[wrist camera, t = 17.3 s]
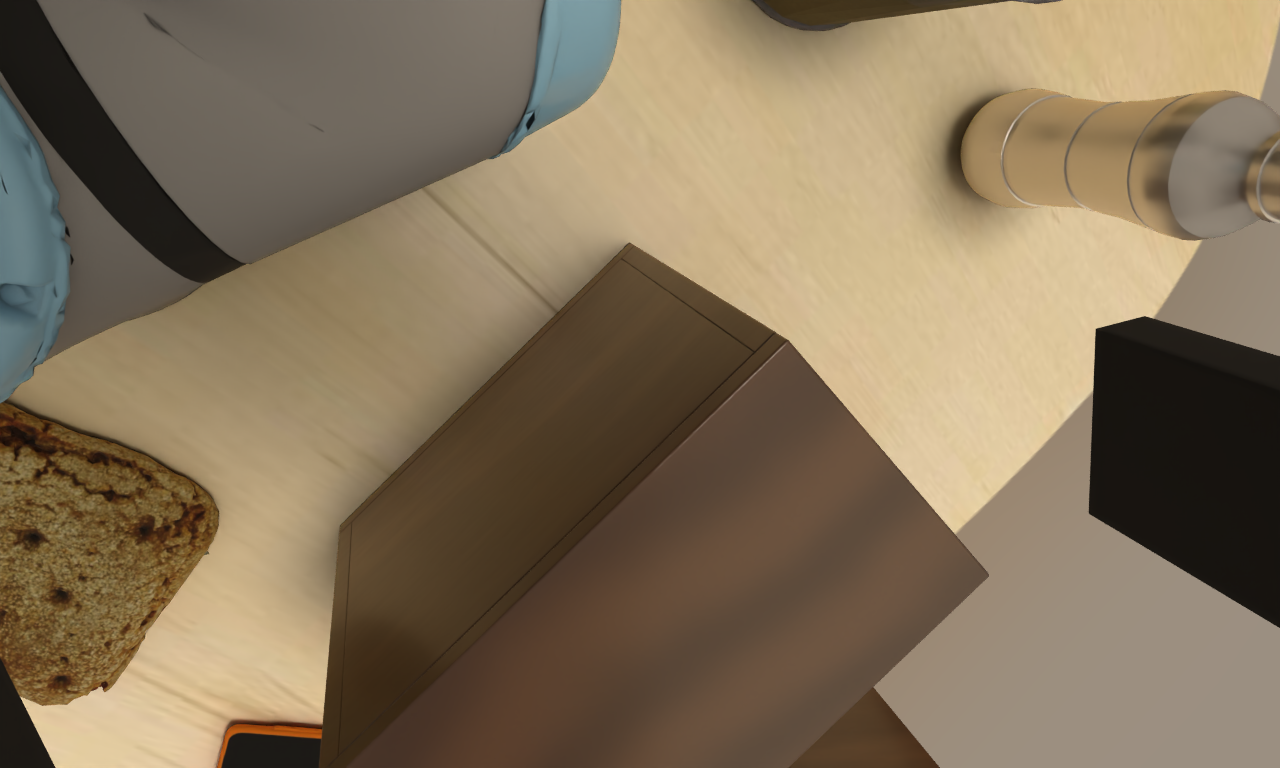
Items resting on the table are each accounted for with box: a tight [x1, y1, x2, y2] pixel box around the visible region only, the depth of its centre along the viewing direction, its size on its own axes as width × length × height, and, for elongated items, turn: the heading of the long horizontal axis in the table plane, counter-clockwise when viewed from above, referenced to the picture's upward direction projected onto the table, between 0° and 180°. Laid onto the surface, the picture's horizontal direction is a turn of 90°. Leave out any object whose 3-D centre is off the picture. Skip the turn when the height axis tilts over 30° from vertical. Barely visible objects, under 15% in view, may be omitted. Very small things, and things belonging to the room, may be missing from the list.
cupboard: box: [319, 243, 989, 768], centre depth 41 cm, size 14×22×20 cm, turn 132°
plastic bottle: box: [961, 88, 1280, 240], centre depth 42 cm, size 6×7×20 cm
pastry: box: [0, 402, 219, 706], centre depth 42 cm, size 17×17×3 cm
